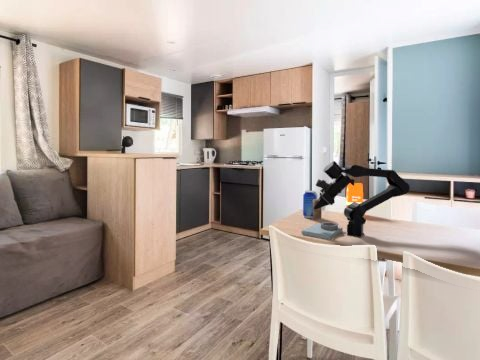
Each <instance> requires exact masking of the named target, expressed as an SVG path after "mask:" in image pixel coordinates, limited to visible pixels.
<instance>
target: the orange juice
mask: <svg viewBox="0 0 480 360" xmlns="http://www.w3.org/2000/svg"><path fill="white" fill-rule="evenodd" d="M363 189H364V188H363V183H361V182H358V183H357V182H356V183H355V182H354V186H353V185H352V184H351V183H350V184H349V185H348V186H346V192H345V193H346V197H345V198H346V200H345V206H346V207H348V206H347V205H350V204H352V203H353V202H356V203H358V204H360V203H362V202H364V190H363ZM346 207H345V208H346Z"/></svg>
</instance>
